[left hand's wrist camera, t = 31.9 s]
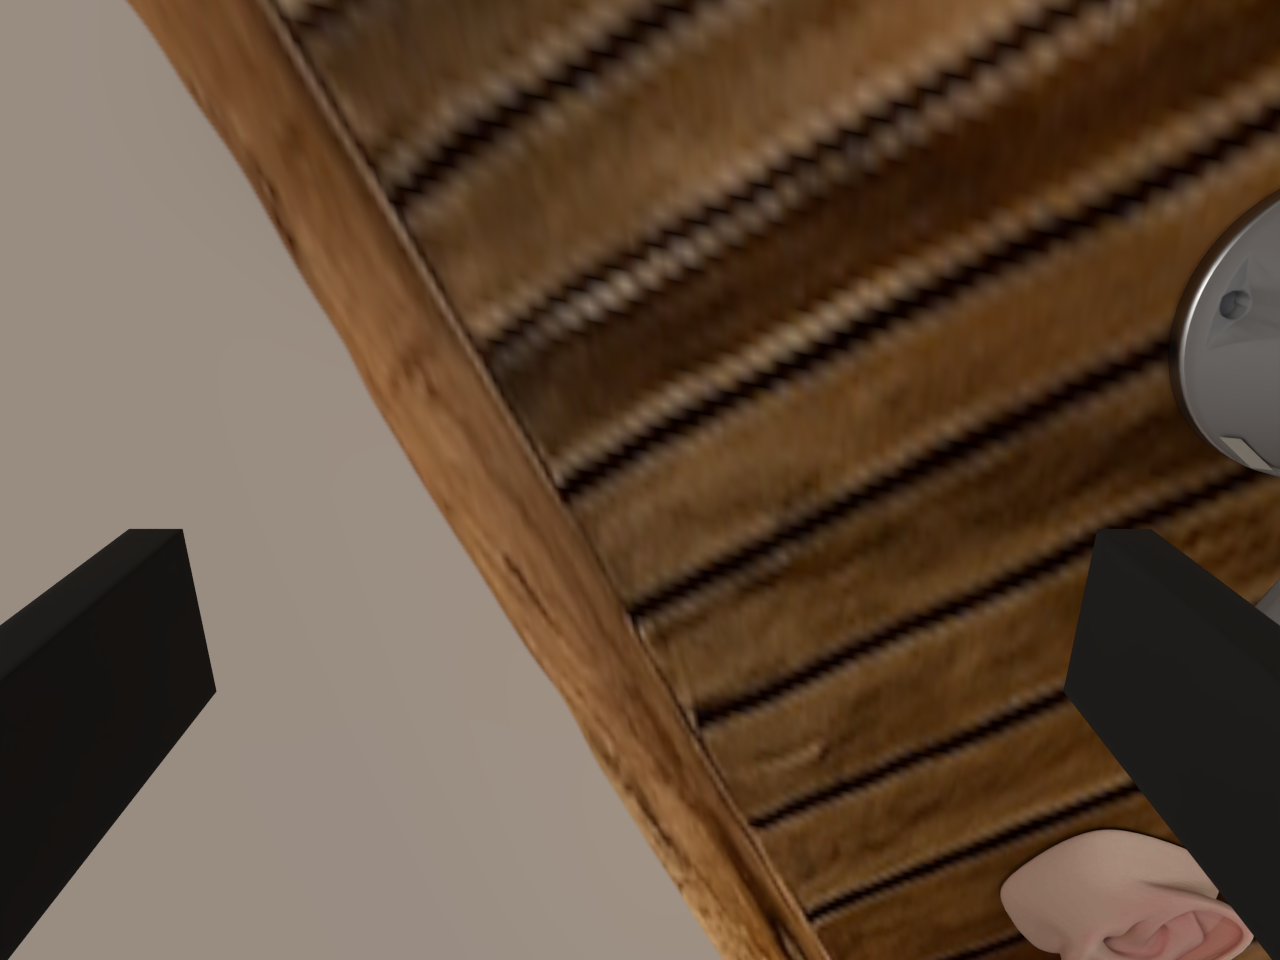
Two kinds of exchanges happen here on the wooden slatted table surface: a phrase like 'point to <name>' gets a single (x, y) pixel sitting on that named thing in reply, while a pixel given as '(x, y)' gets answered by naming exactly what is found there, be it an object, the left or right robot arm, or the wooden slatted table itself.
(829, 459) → the wooden slatted table surface
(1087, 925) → the anatomical model
